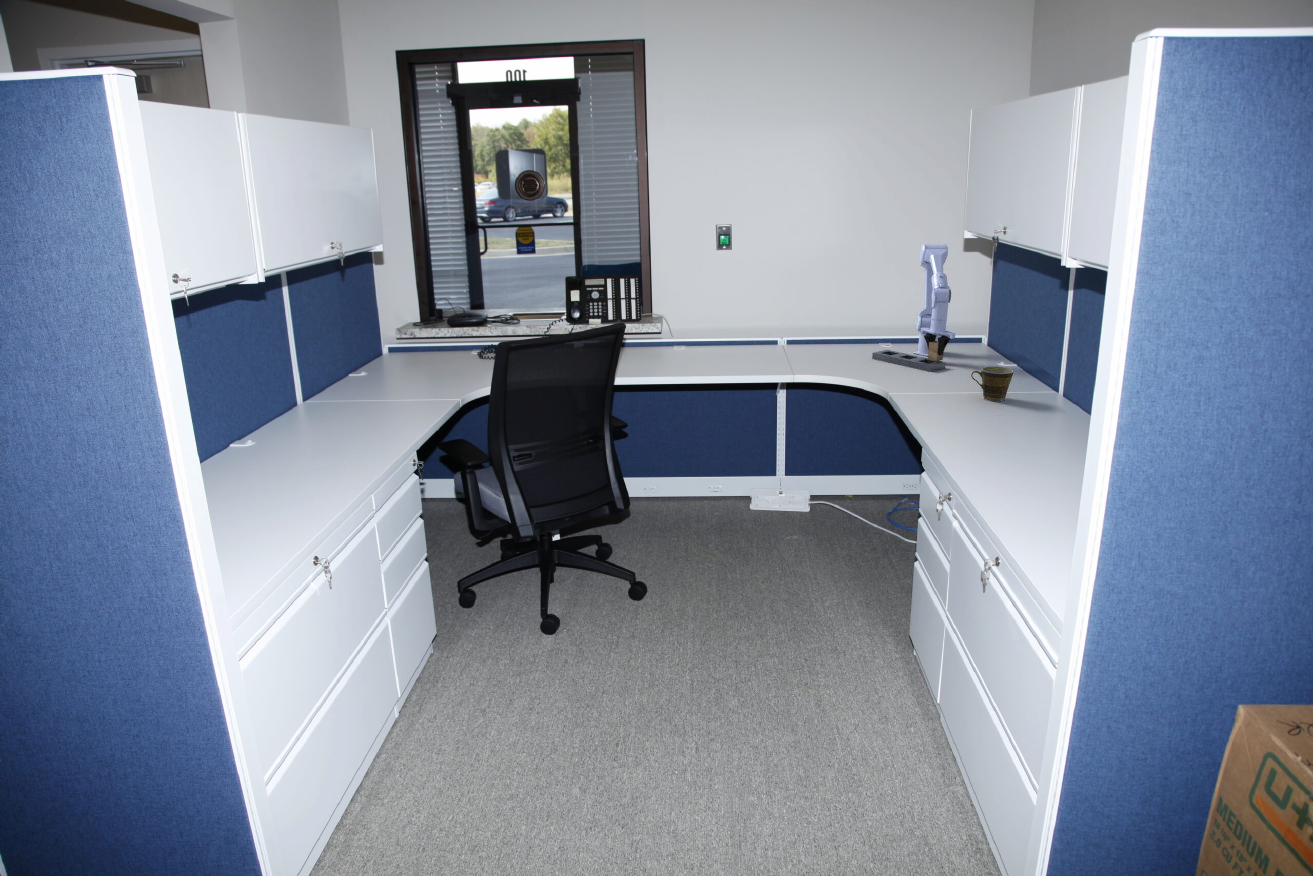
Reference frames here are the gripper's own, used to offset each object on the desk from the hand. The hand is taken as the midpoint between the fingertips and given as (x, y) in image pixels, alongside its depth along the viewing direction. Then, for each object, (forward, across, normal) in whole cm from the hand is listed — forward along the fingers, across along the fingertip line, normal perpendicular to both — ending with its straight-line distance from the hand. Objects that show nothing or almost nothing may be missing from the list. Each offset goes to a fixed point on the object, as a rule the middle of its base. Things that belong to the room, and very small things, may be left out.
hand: (935, 353), depth 332 cm
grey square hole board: (+4, -6, -9) cm, 11 cm away
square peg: (+2, 0, 0) cm, 2 cm away
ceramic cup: (+4, +43, -29) cm, 52 cm away
